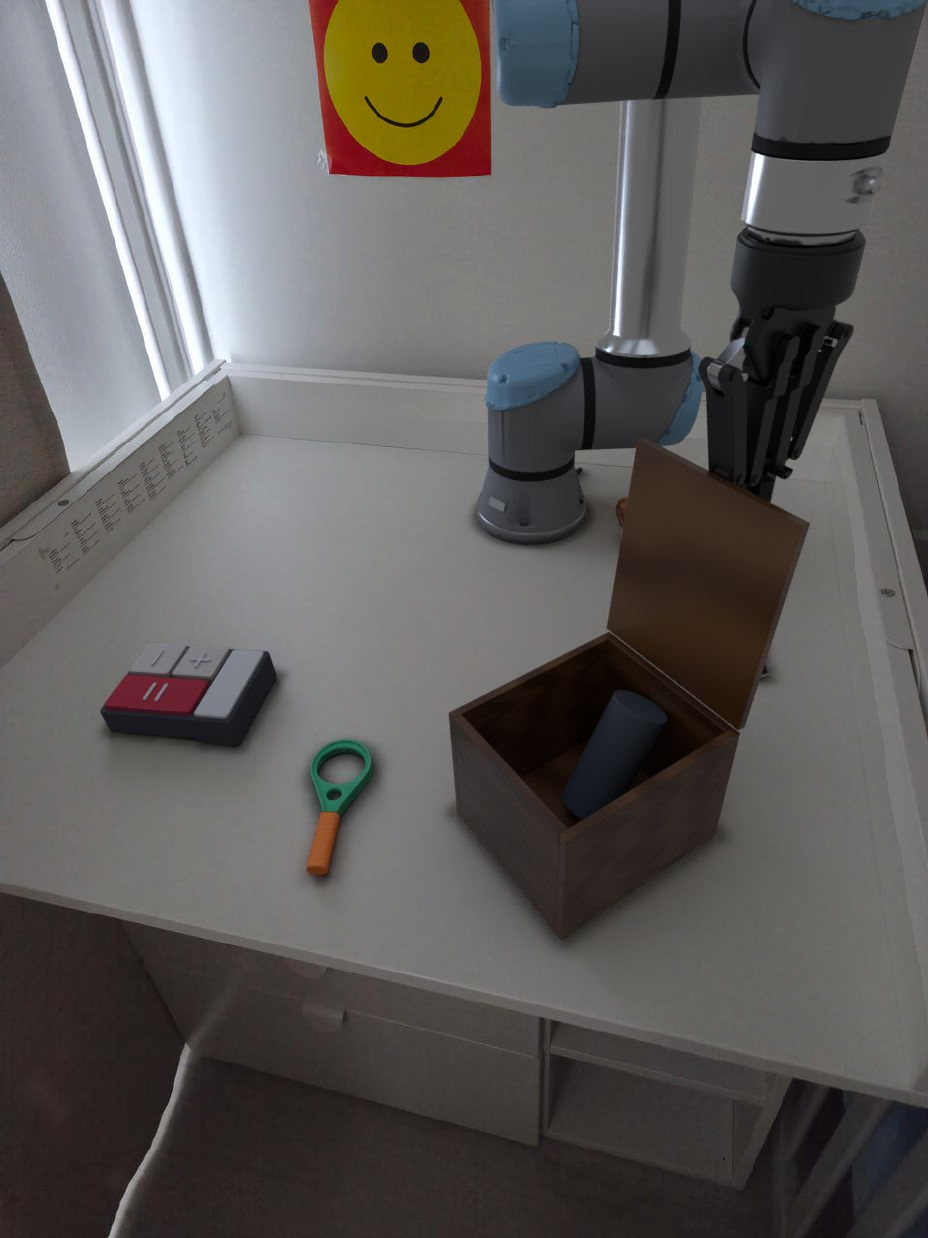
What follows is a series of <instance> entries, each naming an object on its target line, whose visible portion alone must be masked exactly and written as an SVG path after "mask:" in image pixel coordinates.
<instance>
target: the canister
mask: <svg viewBox="0 0 928 1238" xmlns="http://www.w3.org/2000/svg"><path fill="white" fill-rule="evenodd" d="M666 722H667V716H666V714H665V713H664V711H663V710H662V709H661V708H660V707H658V706H657V705H656V704H655V703H653V702H652V701H650V700H648V699H647V698H645V697H643V696H641V695H639V694H636V693H633V692H630V691H626V690H617V691H615V692H614V694H613V696H612V698H611V700H610V702H609V704H608V705H607V707H606V709H605V711H604V713H603V715H602V717H601V719H600V721H599V723H598V725H597V727H596V728H595V730H594V732H593V734H592V736H591V738H590V740H589V742H588V744H587V746H586V748H585V750H584V751H583V753H582V755H581V757H580V759H579V761H578V763H577V765H576V767H575V769H574V771H573V773H572V774H571V776H570V778H569V780H568V782H567V784H566V786H565V788H564V790H563V792H562V794H561V798H562V801H563V803H564V804H565V806H566V807H567V808H568V809H569V810H570V811H571V812H572V813H573V814H575V815H576V816H577V817H579V818H581V819H582V820H583V819H585V818H587V817H588V816H590V815H592V814H593V813H595V812H596V811H598V810H600V809H601V808H603V807H605V806H606V805H608V804H609V803H611V802H613V801H614V800H616V799H617V798H619V797H621V796H622V795H624V794H626V793H627V792H628V790H629V789H630V787H631V785H632V783H633V781H634V780H635V778H636V776H637V774H638V772H639V771H640V769H641V767H642V765H643V763H644V762H645V760H646V758H647V756H648V754H649V753H650V751H651V749H652V747H653V745H654V744H655V742H656V740H657V738H658V736H659V735H660V733H661V731H662V729H663V727H664V726H665V724H666Z"/></svg>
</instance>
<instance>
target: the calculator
mask: <svg viewBox="0 0 928 1238" xmlns="http://www.w3.org/2000/svg"><path fill="white" fill-rule="evenodd" d="M277 676H278V675H277V672H276V668H275V665H274V662H273V660H272V655H271V653H270V652H269V651H267V650H256V649H255V650H254V649H240V648H239V649H237V648H229V647H220V646H204V645H203V646H202V645H190V646H188V645H185V644H170V643H154V642H152V643H148V644H147V646H146V647H145V648H144V649H143V651H142V652H141V654H140V655H139V656H138V658H137V659H136V660H135V662H134V663H133V664H132V666H131V667H130V668H129V670H128V672H127V673H126V675H124V677H122V679H121V680H120V682H119V683H118V684H117V686H116V687H115V689H114V690H113V691H112V692H111V694H110V695H109V696H108V698H107V699H106V700H105V702H104V703H103V706H102V707H100V710H99V713H100V715H101V716H102V718H103V720H104V722H105V724H106V726H107V728H108V729H109V731H110V732H115V733H116V732H117V733H127V734H128V733H129V734H139V735H152V736H162V737H173V738H184V739H195V740H198V741H200V742H203V743H205V744H210V745H222V746H232V747H236V746H239V745H240V744H241V743H242V741H243V739H244V737H245V735H246V733H247V732H248V730H249V728H250V726H251V724H252V722H253V720H254V719H255V717H256V716H257V713H258V712H259V709H260V707H262V704H263V702H264V700H265V699H266V697H267V695H268V693H269V691H270V689H271V688H272V685H273V684H274V681H275V680H276V678H277Z"/></svg>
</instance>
